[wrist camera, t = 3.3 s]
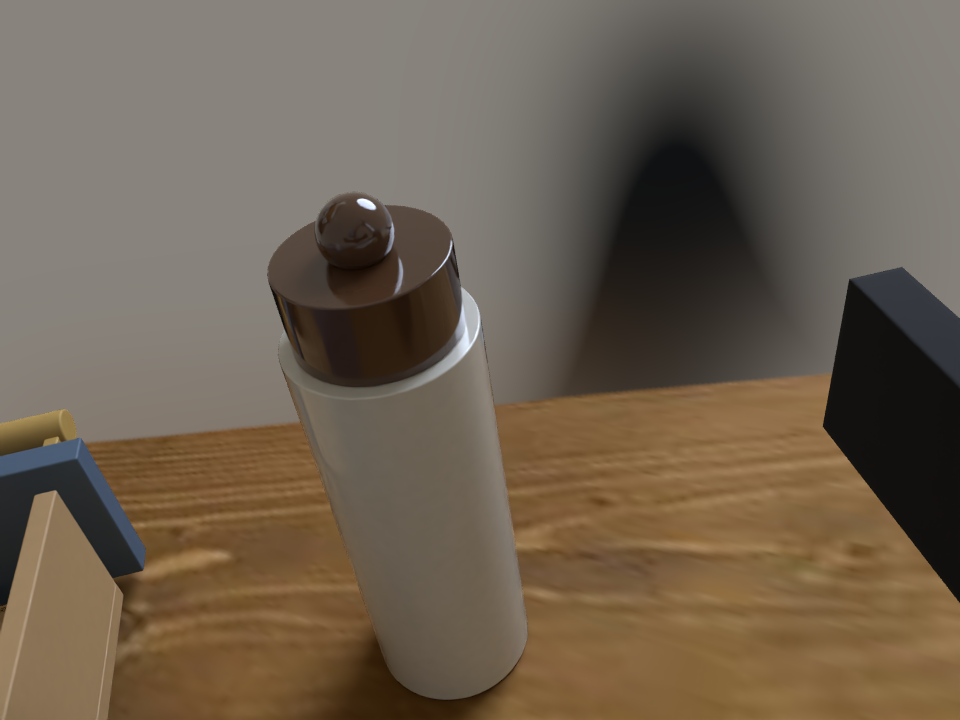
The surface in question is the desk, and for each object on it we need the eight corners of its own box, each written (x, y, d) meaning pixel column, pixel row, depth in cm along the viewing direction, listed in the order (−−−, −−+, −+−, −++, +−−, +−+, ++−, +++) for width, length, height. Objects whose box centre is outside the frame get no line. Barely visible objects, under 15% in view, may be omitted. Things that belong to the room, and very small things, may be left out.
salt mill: (508, 555, 35) (438, 127, 24) (545, 677, 31) (481, 228, 19) (373, 589, 35) (232, 171, 23) (391, 718, 31) (230, 283, 19)
